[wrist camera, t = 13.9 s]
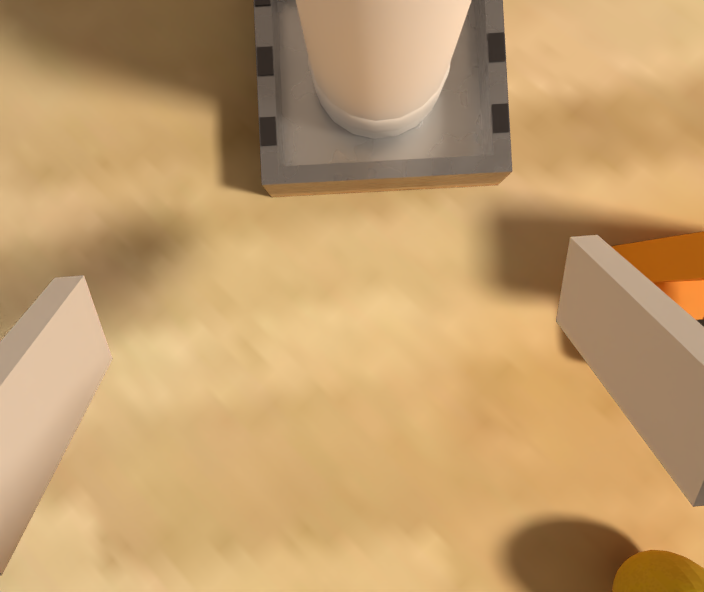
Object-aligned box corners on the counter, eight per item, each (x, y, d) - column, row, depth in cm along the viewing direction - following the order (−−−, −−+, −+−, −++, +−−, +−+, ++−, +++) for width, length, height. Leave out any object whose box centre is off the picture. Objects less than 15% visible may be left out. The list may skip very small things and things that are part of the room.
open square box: (271, 197, 34) (261, 184, 30) (262, -24, 34) (250, -61, 31) (497, 185, 33) (512, 171, 30) (485, -38, 34) (499, -77, 30)
